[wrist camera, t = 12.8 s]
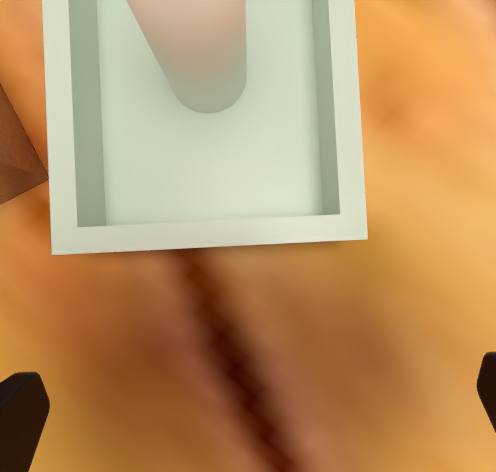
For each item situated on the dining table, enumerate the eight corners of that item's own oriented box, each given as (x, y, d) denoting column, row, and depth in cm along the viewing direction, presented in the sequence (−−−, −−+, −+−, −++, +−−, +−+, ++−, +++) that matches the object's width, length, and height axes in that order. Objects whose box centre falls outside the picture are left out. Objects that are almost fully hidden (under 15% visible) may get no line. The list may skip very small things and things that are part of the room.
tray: (341, 240, 18) (368, 239, 14) (93, 252, 18) (51, 255, 14) (323, -82, 19) (344, -170, 15) (80, -72, 19) (36, -158, 15)
